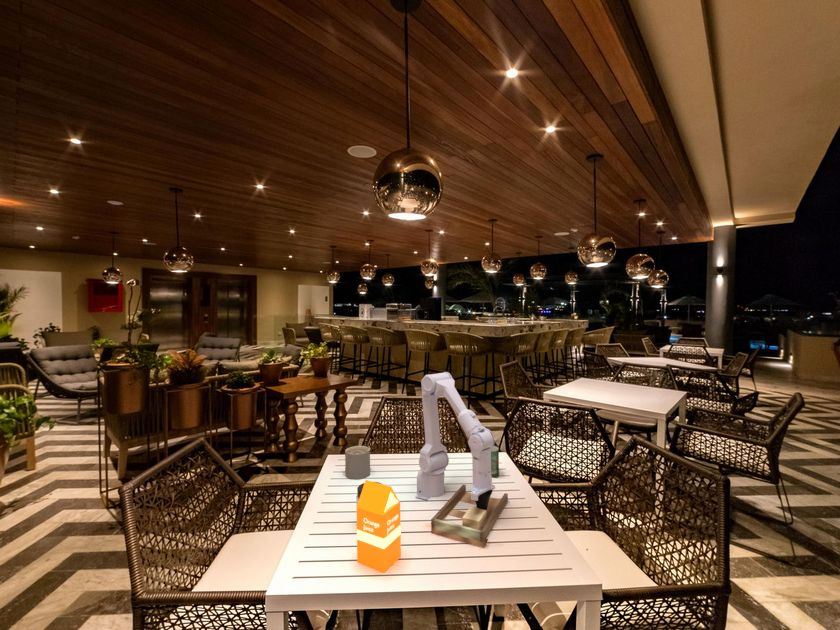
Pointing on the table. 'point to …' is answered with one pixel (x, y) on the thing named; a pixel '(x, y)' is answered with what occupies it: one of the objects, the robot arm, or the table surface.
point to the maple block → (475, 518)
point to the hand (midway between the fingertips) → (482, 513)
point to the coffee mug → (357, 462)
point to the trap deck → (461, 531)
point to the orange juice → (378, 527)
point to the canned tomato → (494, 461)
